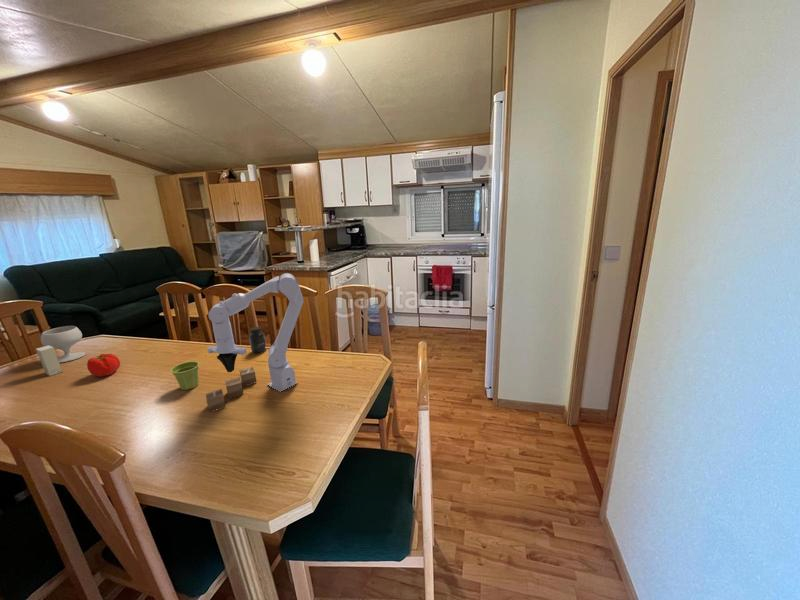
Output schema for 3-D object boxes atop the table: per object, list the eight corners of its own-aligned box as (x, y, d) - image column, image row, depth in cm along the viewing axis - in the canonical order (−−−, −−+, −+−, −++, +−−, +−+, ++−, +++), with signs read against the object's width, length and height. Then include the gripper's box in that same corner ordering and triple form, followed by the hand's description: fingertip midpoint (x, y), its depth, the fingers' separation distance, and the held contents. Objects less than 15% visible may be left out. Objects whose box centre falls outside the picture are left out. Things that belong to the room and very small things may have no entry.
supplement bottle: (263, 354, 155) (259, 330, 152) (249, 354, 155) (245, 331, 152) (268, 348, 161) (265, 325, 158) (255, 348, 162) (251, 326, 158)
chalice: (61, 354, 163) (51, 327, 159) (94, 350, 167) (85, 323, 163) (41, 366, 150) (29, 337, 146) (77, 361, 154) (67, 332, 150)
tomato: (94, 382, 134) (87, 363, 131) (88, 375, 140) (82, 357, 138) (125, 372, 142) (120, 354, 139) (118, 365, 148) (113, 348, 146)
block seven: (256, 382, 129) (254, 371, 127) (243, 386, 126) (240, 375, 125) (254, 377, 133) (252, 366, 131) (241, 381, 130) (239, 370, 129)
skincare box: (63, 372, 144) (54, 347, 141) (49, 376, 141) (39, 351, 137) (58, 369, 147) (49, 344, 144) (44, 373, 144) (35, 348, 140)
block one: (225, 407, 113) (222, 394, 111) (209, 412, 110) (206, 399, 109) (224, 400, 117) (221, 388, 115) (208, 405, 114) (205, 393, 113)
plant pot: (190, 393, 122) (185, 373, 120) (169, 391, 124) (164, 371, 122) (208, 381, 131) (204, 361, 129) (189, 379, 133) (184, 360, 131)
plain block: (243, 394, 120) (241, 382, 119) (228, 398, 118) (226, 386, 117) (241, 388, 125) (239, 377, 123) (227, 392, 122) (225, 381, 121)
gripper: (249, 333, 118) (255, 366, 121) (214, 332, 120) (221, 365, 124) (236, 341, 111) (243, 376, 115) (200, 339, 113) (207, 373, 117)
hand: (230, 371), depth 119 cm, fingers closed
